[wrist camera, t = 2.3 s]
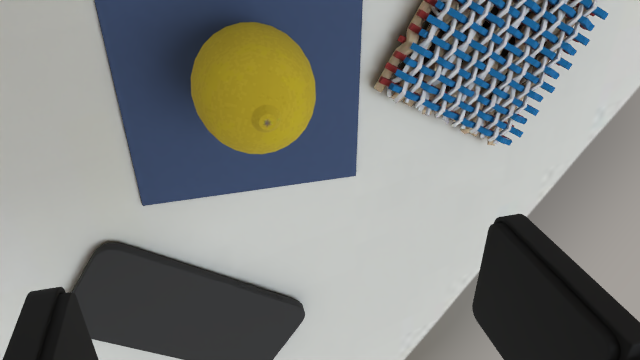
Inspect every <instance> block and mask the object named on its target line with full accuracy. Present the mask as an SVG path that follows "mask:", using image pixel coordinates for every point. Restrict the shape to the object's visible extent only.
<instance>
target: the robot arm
mask: <svg viewBox="0 0 640 360" xmlns="http://www.w3.org/2000/svg"><path fill="white" fill-rule="evenodd" d="M473 313H474V316H475V318H476V320H477V321H478V323H479V325H480V326H481V327H482V329H483V330H484V332H485V333H486V335H487V336H488V337H489V339H490V340H491V342H492V343H493V345H494V346H495V347H496V349H497V350H498V352H499V353H500V355H501V356H502V358H503V359H504V360H640V322H639V321H638V320H637V319H635V318H634V317H633V316H632V315H631V314H630V313H629V312H628V311H627V310H626V309H625V308H624V307H622V306H621V305H620V304H619V303H618V302H617V301H616V300H615V299H614V298H613V297H612V296H611V295H610V294H608V292H606V291H605V290H604V289H603V288H602V287H601V286H600V285H599V284H598V283H597V282H596V281H595V280H593V279H592V278H591V277H590V276H589V275H588V274H587V273H586V272H585V271H584V270H583V269H582V268H580V266H578V265H577V264H576V263H575V262H574V261H573V260H572V259H571V258H570V257H569V256H568V255H567V254H566V253H565V252H563V251H562V250H561V249H560V248H559V247H558V246H557V245H556V244H555V243H554V242H553V241H552V240H550V239H549V238H548V237H547V236H546V235H545V234H544V233H543V232H542V231H541V230H540V229H539V228H538V227H536V226H535V225H534V224H533V223H532V222H531V221H530V220H529V219H528V218H527V217H526V216H524V215H522V214H516V215H509V216H503V217H499V218H497V219H496V220H495V222H494V224H492V225H491V226H490V227H489V230H488V235H487V239H486V244H485V249H484V253H483V258H482V263H481V267H480V272H479V277H478V281H477V286H476V291H475V296H474V300H473ZM3 360H98V357H97V354H96V352H95V349H94V346H93V343H92V340H91V337H90V334H89V332H88V329H87V326H86V323H85V320H84V317H83V314H82V312H81V309H80V306H79V303H78V300H77V297H76V295H75V294H74V292H71V293H66V292H65V290H64V289H63V288H62V287H56V288H50V289H44V290H38V291H31V292H30V293H28V295H27V297H26V300H25V302H24V305H23V308H22V310H21V313H20V316H19V318H18V321H17V323H16V326H15V329H14V331H13V334H12V337H11V339H10V342H9V345H8V347H7V350H6V352H5V355H4V358H3Z"/></svg>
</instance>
